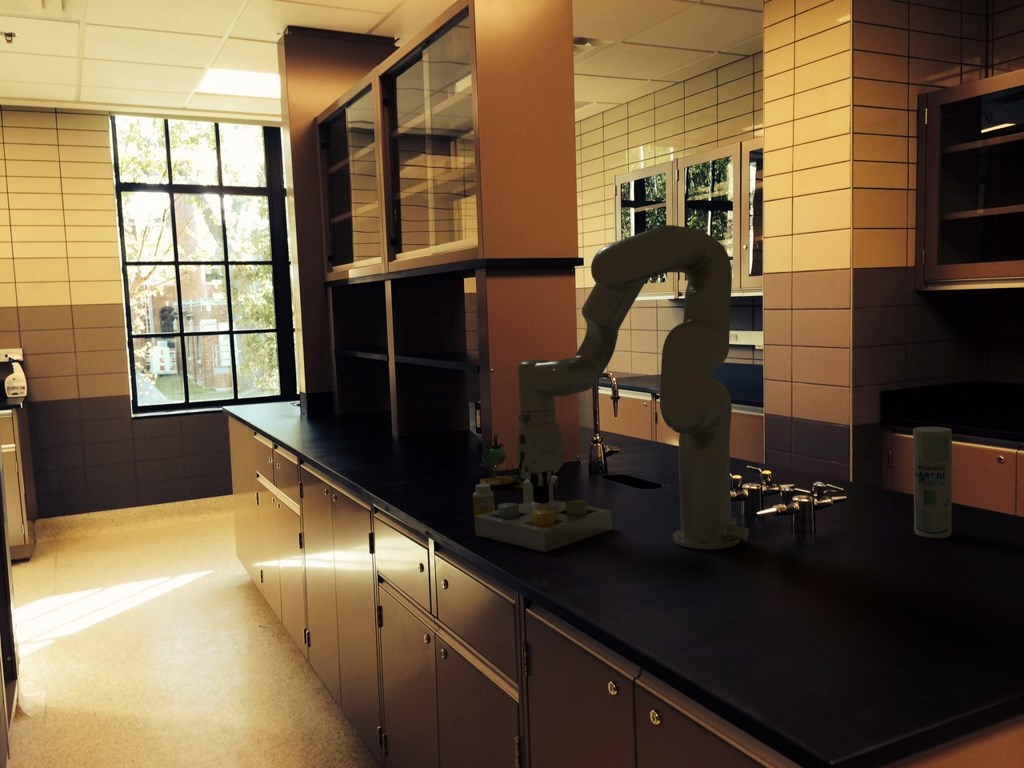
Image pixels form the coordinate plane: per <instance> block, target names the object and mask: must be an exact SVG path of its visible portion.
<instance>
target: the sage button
mask: <svg viewBox="0 0 1024 768" xmlns="http://www.w3.org/2000/svg"><path fill="white" fill-rule="evenodd" d="M565 502H566V515H570V516H575V517H580V516H583V515H586V514H588V507H587V506H588V501H587V500H584V499H573V500H568V501H565Z"/></svg>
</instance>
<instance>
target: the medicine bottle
mask: <svg viewBox="0 0 1024 768" xmlns="http://www.w3.org/2000/svg"><path fill="white" fill-rule="evenodd" d="M522 483H523V485H522V486H523V488H522V495H523V496H522V497H523V503H525V502H529V501H532V500H533V484H531V483H530V481H529V480H528V479H524V481H523V482H522ZM559 489H560V488H559V476H557V475H555V473H554V474H553V475H552V477H551V482H550V484H549V499H550V500H556V501H560V491H559Z"/></svg>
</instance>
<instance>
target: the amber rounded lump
mask: <svg viewBox="0 0 1024 768" xmlns="http://www.w3.org/2000/svg"><path fill="white" fill-rule="evenodd" d="M554 524H555V521H554V511H552V510H536V511H533V512H532V525H533V526H538V527H542V528H545V527H548V526H551V525H554Z"/></svg>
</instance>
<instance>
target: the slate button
mask: <svg viewBox="0 0 1024 768" xmlns="http://www.w3.org/2000/svg"><path fill="white" fill-rule="evenodd" d="M519 504H520V503H519ZM519 504H518V503H516V502H503V503H499V504H497V510H498V518H500V519H505V520H510V519H514V518H517V517H519Z"/></svg>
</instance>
